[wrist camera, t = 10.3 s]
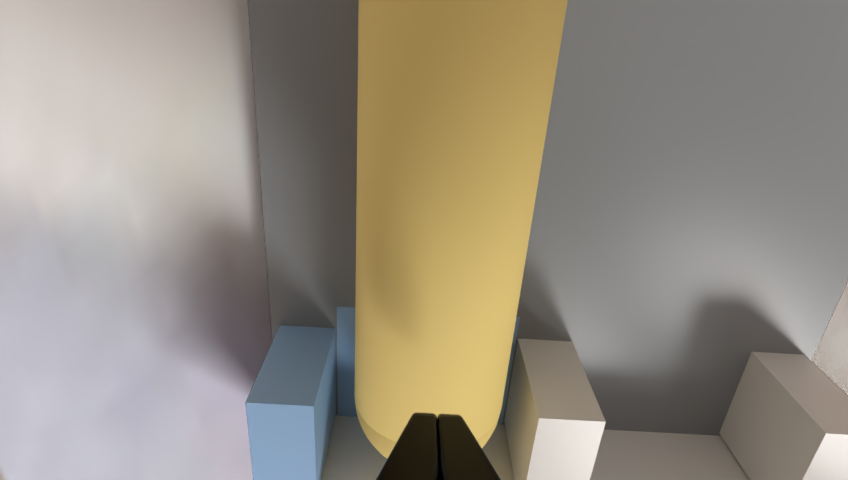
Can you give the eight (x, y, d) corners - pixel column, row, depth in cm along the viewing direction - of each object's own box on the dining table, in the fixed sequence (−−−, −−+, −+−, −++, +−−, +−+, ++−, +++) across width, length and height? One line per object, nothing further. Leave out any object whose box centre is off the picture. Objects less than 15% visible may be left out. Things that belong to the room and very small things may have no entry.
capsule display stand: (1057, -241, 10) (1379, -362, 6) (754, 445, 17) (833, 553, 14) (236, -307, 9) (133, -470, 6) (283, 420, 17) (247, 525, 13)
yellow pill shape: (371, -192, 10) (347, -289, 6) (567, -175, 10) (644, -262, 6) (360, 396, 15) (345, 505, 12) (484, 400, 15) (503, 510, 12)
